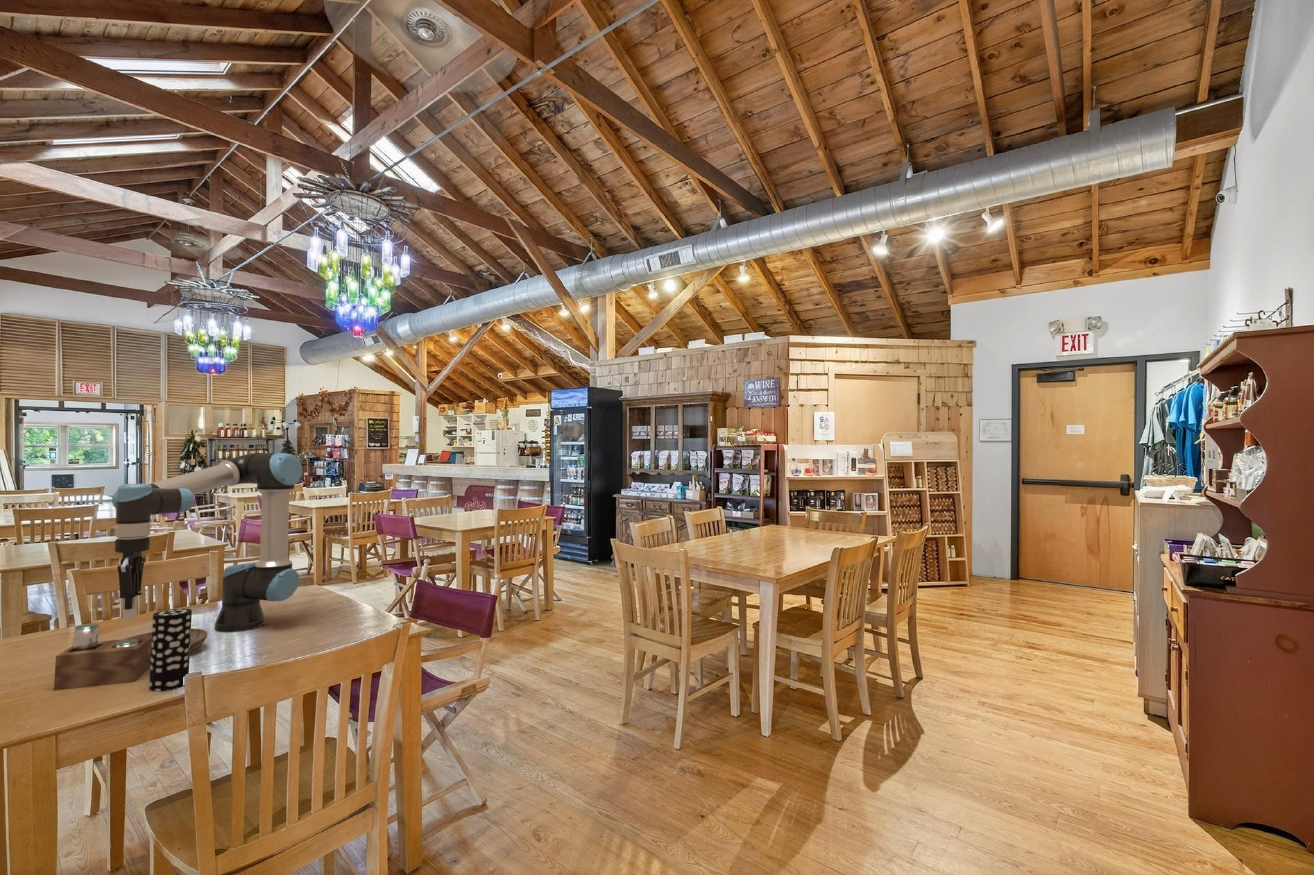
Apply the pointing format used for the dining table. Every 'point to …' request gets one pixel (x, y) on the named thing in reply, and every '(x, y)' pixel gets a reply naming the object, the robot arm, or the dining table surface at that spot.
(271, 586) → the robot arm
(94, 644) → the peg
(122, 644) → the peg
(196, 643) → the ceramic bowl
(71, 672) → the walnut block
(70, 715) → the dining table surface
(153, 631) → the white-spotted black cylinder
